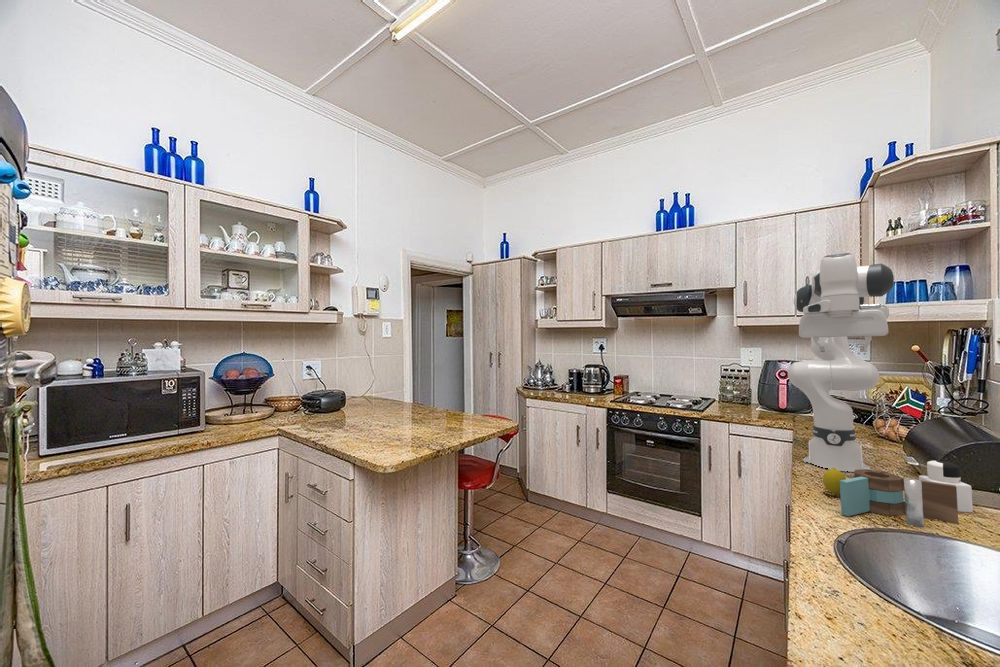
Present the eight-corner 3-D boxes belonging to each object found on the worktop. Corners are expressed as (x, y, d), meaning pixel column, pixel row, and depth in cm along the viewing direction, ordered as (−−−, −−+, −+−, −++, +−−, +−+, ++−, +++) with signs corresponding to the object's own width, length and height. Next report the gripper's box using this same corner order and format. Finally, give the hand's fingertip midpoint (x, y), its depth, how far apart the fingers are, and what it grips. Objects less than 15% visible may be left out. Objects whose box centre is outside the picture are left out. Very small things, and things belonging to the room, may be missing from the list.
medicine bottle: (952, 502, 109) (949, 459, 110) (973, 513, 102) (971, 467, 103) (919, 500, 111) (917, 457, 112) (938, 510, 105) (936, 465, 105)
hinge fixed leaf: (855, 499, 113) (854, 467, 113) (953, 516, 100) (951, 481, 101) (857, 509, 106) (855, 475, 106) (962, 529, 94) (959, 491, 94)
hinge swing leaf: (868, 498, 112) (867, 468, 112) (910, 511, 103) (908, 478, 104) (825, 508, 106) (823, 476, 106) (865, 522, 97) (863, 487, 98)
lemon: (838, 492, 118) (837, 465, 119) (852, 499, 113) (851, 471, 113) (818, 491, 119) (817, 465, 119) (832, 498, 113) (831, 470, 114)
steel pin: (905, 521, 98) (903, 477, 99) (922, 524, 96) (920, 479, 97) (907, 525, 96) (904, 480, 97) (925, 528, 94) (922, 482, 95)
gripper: (887, 304, 113) (889, 351, 112) (798, 309, 126) (800, 352, 126) (889, 302, 108) (892, 351, 107) (797, 308, 122) (799, 352, 121)
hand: (842, 352), depth 117 cm, fingers open, 8 cm apart
